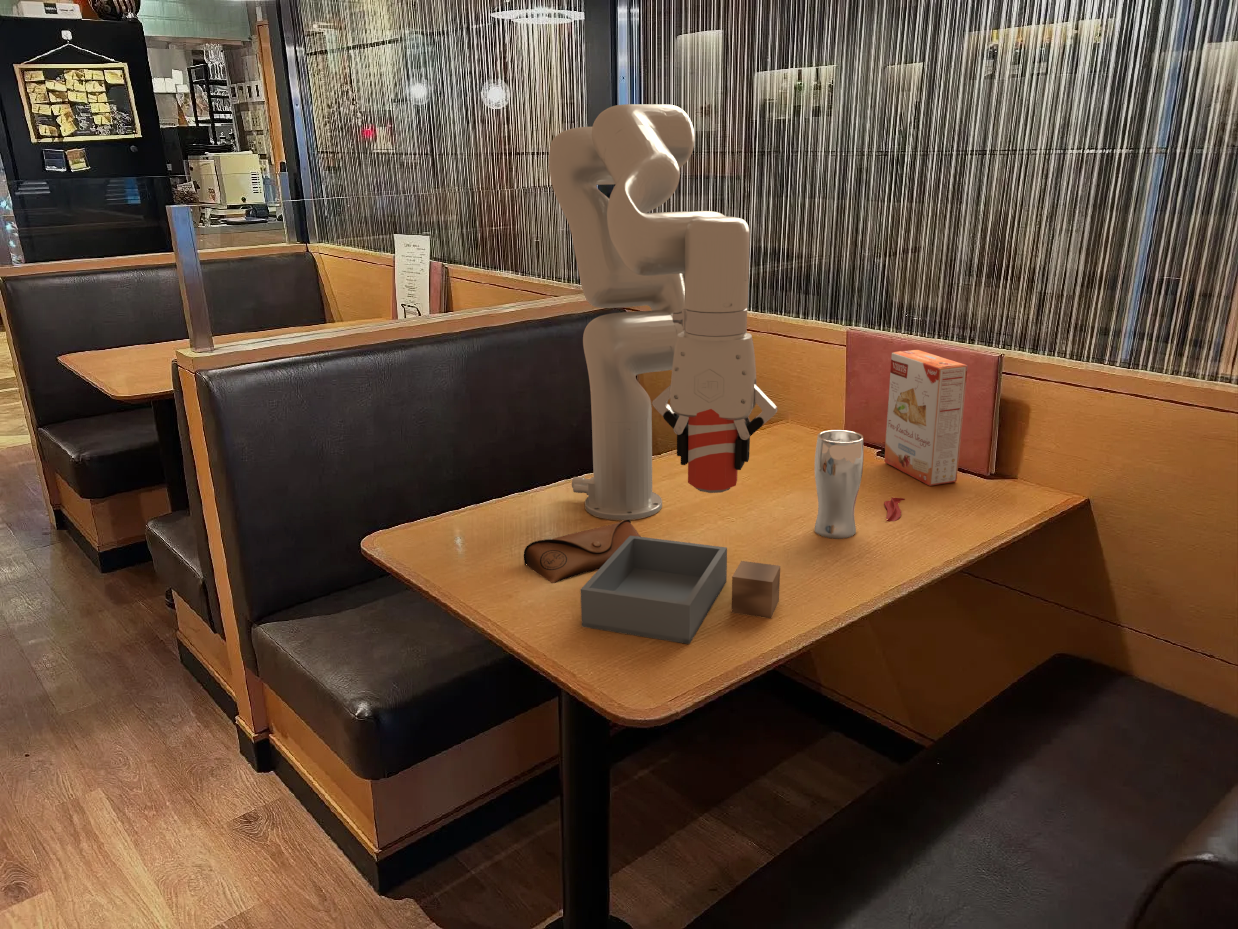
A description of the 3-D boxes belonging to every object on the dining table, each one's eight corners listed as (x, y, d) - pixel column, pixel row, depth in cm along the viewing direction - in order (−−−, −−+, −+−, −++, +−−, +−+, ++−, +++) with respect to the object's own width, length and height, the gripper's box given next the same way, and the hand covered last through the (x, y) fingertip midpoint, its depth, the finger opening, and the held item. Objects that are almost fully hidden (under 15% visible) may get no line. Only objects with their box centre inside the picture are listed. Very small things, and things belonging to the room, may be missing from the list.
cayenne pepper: (894, 498, 153) (894, 488, 152) (921, 504, 150) (922, 493, 149) (862, 521, 144) (863, 509, 143) (891, 527, 141) (891, 515, 141)
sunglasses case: (551, 585, 123) (537, 537, 124) (532, 593, 129) (518, 547, 130) (661, 553, 132) (648, 509, 133) (639, 562, 138) (625, 520, 139)
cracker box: (881, 463, 169) (889, 351, 163) (910, 459, 171) (919, 348, 165) (927, 487, 157) (938, 366, 150) (957, 483, 158) (969, 363, 152)
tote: (581, 626, 112) (580, 589, 110) (630, 568, 128) (630, 535, 126) (689, 644, 107) (689, 605, 106) (726, 582, 123) (727, 547, 121)
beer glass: (859, 541, 135) (866, 443, 130) (811, 538, 136) (815, 441, 132) (857, 524, 141) (863, 430, 137) (811, 521, 143) (816, 428, 138)
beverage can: (720, 475, 121) (722, 387, 118) (746, 490, 116) (749, 398, 112) (679, 482, 119) (680, 392, 115) (703, 498, 114) (705, 404, 110)
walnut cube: (731, 613, 115) (732, 576, 113) (740, 596, 119) (741, 560, 118) (771, 619, 113) (772, 582, 112) (778, 601, 118) (780, 565, 116)
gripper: (637, 325, 110) (638, 467, 116) (783, 332, 105) (776, 480, 111) (654, 315, 117) (654, 449, 123) (792, 320, 112) (785, 461, 117)
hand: (712, 463), depth 117 cm, fingers closed on beverage can, 6 cm apart
